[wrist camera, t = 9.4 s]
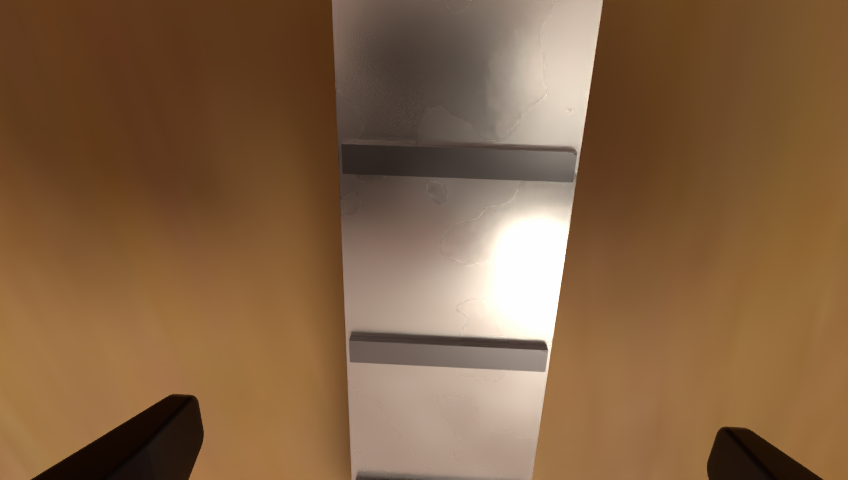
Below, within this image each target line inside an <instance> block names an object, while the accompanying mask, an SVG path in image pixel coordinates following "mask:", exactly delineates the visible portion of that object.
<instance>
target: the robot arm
mask: <svg viewBox="0 0 848 480" xmlns="http://www.w3.org/2000/svg"><path fill="white" fill-rule="evenodd" d="M203 437H204V430H203V424H202V419H201V413H200V408H199V403H198V400H197V398H196V397H195V396H193V395H183V394H172V395H169V396H168V397H166V398H164V399H162V400H161V401H159V402H158V403H156V404H154V405H153V406H151V407H149V408H148V409H146V410H144V411H143V412H141V413H139V414H138V415H136V416H135V417H133V418H131V419H130V420H128V421H126V422H125V423H123V424H121V425H120V426H118V427H116V428H115V429H113V430H112V431H110V432H108V433H107V434H105V435H103V436H102V437H100V438H98V439H97V440H95V441H93V442H92V443H90V444H89V445H87V446H85V447H84V448H82V449H80V450H79V451H77V452H75V453H74V454H72V455H70V456H69V457H67V458H66V459H64V460H62V461H61V462H59V463H57V464H56V465H54V466H52V467H51V468H49V469H47V470H46V471H44V472H43V473H41V474H39V475H38V476H36V477H34V478H33V479H31V480H189V477H190V474H191V472H192V469H193V467H194V464H195V462H196V459H197V456H198V454H199V451H200V449H201V446H202V442H203ZM707 473H708V477H709V480H823V479H822V478H820V477H819V476H817V475H816V474H814V473H813V472H811V471H810V470H808V469H807V468H805V467H804V466H803V465H801V464H800V463H798V462H797V461H795V460H794V459H792V458H791V457H789V456H788V455H786V454H785V453H783V452H782V451H780V450H779V449H778V448H776V447H775V446H773V445H772V444H770V443H769V442H767V441H766V440H764V439H763V438H761V437H760V436H758V435H757V434H756V433H754V432H753V431H751V430H749V429H747V428H739V427H722V428H721V429H720V430H719V431H718V432H717V435H716V438H715V441H714V444H713V447H712V450H711V453H710V456H709V459H708V463H707Z"/></svg>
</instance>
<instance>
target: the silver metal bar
mask: <svg viewBox="0 0 848 480" xmlns="http://www.w3.org/2000/svg"><path fill="white" fill-rule="evenodd" d="M602 4H603V0H332V16H333V40H334V64H335V88H336V112H337V136H338V160H339V184H340V209H341V233H342V257H343V281H344V305H345V329H346V353H347V377H348V401H349V425H350V449H351V474H352V480H532V474H533V467H534V461H535V454H536V447H537V440H538V434H539V427H540V420H541V413H542V407H543V400H544V393H545V387H546V380H547V373H548V366H549V360H550V353H551V346H552V340H553V333H554V326H555V319H556V313H557V306H558V299H559V293H560V286H561V279H562V272H563V266H564V259H565V252H566V246H567V239H568V232H569V225H570V219H571V212H572V205H573V198H574V192H575V185H576V178H577V172H578V165H579V158H580V151H581V145H582V138H583V131H584V125H585V118H586V111H587V104H588V98H589V91H590V84H591V78H592V71H593V64H594V57H595V51H596V44H597V37H598V30H599V24H600V17H601V10H602Z"/></svg>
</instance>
